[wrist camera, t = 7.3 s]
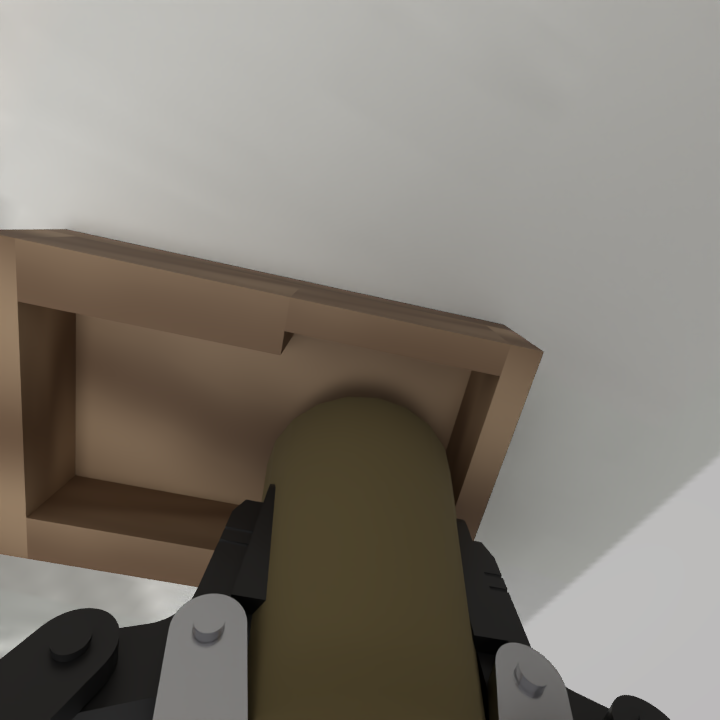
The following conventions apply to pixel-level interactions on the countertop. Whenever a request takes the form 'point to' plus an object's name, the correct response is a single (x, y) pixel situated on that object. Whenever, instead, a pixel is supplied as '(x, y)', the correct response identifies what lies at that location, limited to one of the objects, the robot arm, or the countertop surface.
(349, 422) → the olive double-lobed part
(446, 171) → the countertop surface
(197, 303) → the shallow wooden tray
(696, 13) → the countertop surface
